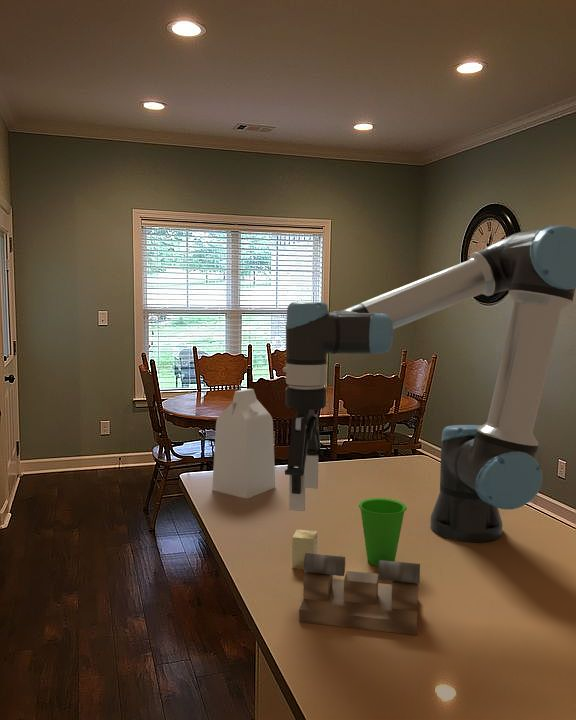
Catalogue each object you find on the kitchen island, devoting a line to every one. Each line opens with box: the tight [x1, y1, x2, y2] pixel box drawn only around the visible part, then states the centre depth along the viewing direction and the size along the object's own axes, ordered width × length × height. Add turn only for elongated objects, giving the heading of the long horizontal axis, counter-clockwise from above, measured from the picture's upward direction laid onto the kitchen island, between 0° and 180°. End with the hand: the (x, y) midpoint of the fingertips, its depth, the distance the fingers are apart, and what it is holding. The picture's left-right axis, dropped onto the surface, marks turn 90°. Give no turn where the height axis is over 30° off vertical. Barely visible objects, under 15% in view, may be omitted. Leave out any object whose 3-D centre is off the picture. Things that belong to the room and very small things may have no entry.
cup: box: [358, 497, 407, 567], centre depth 123 cm, size 9×9×11 cm
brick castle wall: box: [298, 553, 421, 636], centre depth 104 cm, size 18×12×8 cm, turn 78°
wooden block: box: [291, 529, 318, 570], centre depth 121 cm, size 4×4×6 cm
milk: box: [211, 388, 276, 499], centre depth 167 cm, size 12×12×26 cm
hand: (304, 498), depth 120 cm, fingers open, 13 cm apart
